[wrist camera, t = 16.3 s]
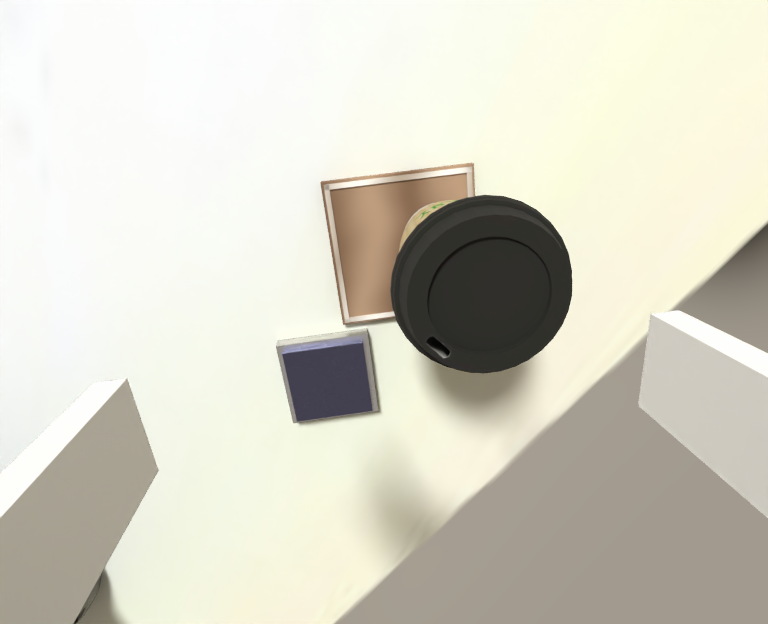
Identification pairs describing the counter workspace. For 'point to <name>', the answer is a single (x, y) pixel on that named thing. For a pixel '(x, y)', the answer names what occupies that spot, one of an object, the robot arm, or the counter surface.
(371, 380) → the ink pad
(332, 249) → the board
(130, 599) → the counter surface
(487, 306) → the coffee cup
